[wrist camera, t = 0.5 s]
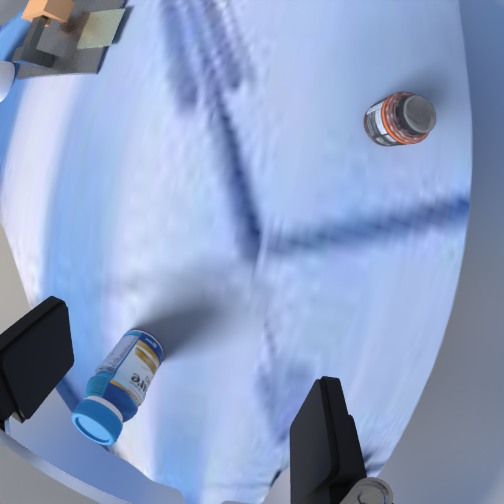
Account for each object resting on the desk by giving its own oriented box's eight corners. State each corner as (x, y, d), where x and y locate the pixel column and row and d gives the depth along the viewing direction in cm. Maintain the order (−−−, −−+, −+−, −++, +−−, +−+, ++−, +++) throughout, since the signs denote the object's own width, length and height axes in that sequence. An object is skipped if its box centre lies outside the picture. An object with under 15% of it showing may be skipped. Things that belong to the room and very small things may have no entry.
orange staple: (52, 8, 25) (30, -3, 19) (75, 2, 26) (53, -11, 19) (44, 26, 27) (21, 17, 20) (66, 21, 27) (42, 10, 20)
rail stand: (46, 8, 27) (19, -5, 19) (138, -10, 28) (113, -35, 19) (19, 79, 32) (-13, 74, 24) (104, 74, 33) (69, 60, 24)
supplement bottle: (401, 107, 32) (443, 93, 21) (402, 149, 34) (445, 147, 23) (361, 101, 32) (394, 80, 21) (362, 144, 34) (396, 138, 23)
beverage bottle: (123, 320, 45) (60, 397, 26) (168, 338, 45) (120, 428, 26) (121, 356, 47) (70, 431, 28) (162, 372, 47) (122, 457, 28)
